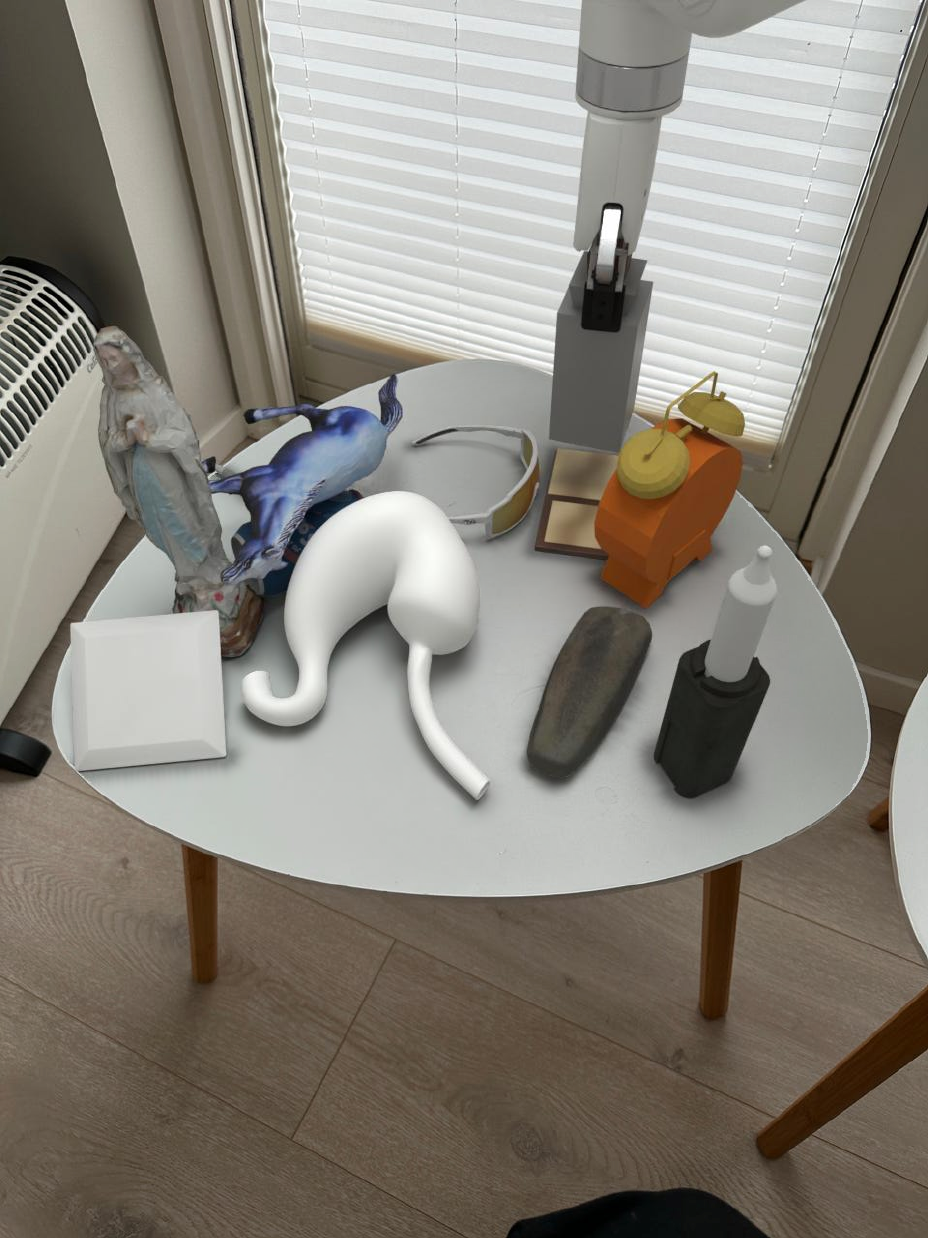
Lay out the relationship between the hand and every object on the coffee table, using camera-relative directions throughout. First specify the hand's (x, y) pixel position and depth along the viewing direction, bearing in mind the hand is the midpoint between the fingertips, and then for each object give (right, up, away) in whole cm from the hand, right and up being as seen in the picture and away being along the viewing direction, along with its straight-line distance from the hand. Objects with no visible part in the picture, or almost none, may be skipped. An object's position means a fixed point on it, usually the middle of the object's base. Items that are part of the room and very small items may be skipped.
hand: (605, 300), depth 79 cm
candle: (+6, -38, -5) cm, 39 cm away
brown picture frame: (0, -16, +14) cm, 21 cm away
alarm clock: (+6, -22, +9) cm, 24 cm away
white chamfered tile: (-37, -32, -4) cm, 50 cm away
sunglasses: (-12, -14, +15) cm, 24 cm away
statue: (-34, -27, +5) cm, 44 cm away
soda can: (-31, -22, +4) cm, 39 cm away
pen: (-32, -14, +15) cm, 38 cm away
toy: (-31, -11, +8) cm, 34 cm away
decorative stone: (-2, -34, -1) cm, 34 cm away
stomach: (-17, -31, +2) cm, 35 cm away
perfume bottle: (0, -8, +10) cm, 13 cm away
